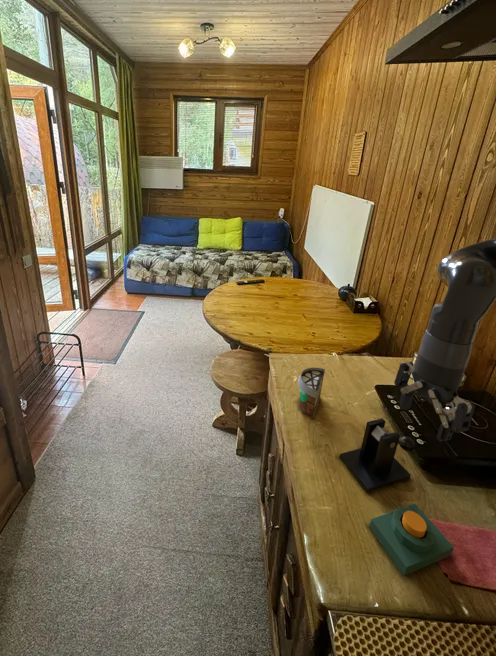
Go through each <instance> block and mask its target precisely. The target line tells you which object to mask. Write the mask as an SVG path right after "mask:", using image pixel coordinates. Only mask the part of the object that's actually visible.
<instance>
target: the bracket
mask: <svg viewBox="0 0 496 656" xmlns="http://www.w3.org/2000/svg"><path fill="white" fill-rule="evenodd" d="M386 422H387V421H386V420H385V419H384V418H383V417H382V418H377V419H374V420H370V421H367V422H366V425H365V429H364V433H363V436H362V437H363V438H362V441H361V447H360V448H356V449H353V450H349V451H346V452H342V453H339V457H338V458H339V459H340V460H341V462H342V463H343V464H344V466H345V467H346V468H347V469H348V471H349V472H350V473H351V475H352V476H353V477H354V479H355V480H356V481H357V482H358V484H359V485H360V486H361V487H362V489H363V490H364V491H365V493H366V494H368V493H371V492H374V491H377V490H380V489H383V488H386V487H390V486H393V485H396V484H399V483H402V482H405V481H408V480H411V477H412V474H411V473H410V472H409V471H408V470H407V469H406V468H405V467H404V466H403V464H401V463H400V461H398V460H397V459H396V458H395V457H396V452H397V448H398V445H399V444H398V442H399V438H400V437H401V434H400V433H399V432H397V431H393V432H389V433H390V434H386V435H383V436H381V437H380V441H378V440H377V439H376V438H375V437H374V436H373V435H372V434H371V433H372V432H373V431H374V429H375V428H376V427H377V426H380V427H383V428H385V426H386Z"/></svg>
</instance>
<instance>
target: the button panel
mask: <svg viewBox="0 0 496 656" xmlns="http://www.w3.org/2000/svg"><path fill="white" fill-rule="evenodd" d="M406 511H413V512H415V513H417V514H418V515H420V516H421V517H422V518H423V519H424V521H425V523H426V525H427V529H426V532H425V535H424V537H422V538H415V537H413V536H412V535H410V534H409V533H408V532H407V531H406V530H405V529H404V527H403V525H402V519H403V515H404V513H405V512H406ZM368 527H369V528H370V530H371V532H372V533H373V534H374V536H375V537H376V539H377V540H378V541H379V543H380V545H381V546H382V547H383V548H384V550H385V551H386V552H387V554H388V556H389V557H390V558H391V560H392V561H393V562H394V563H395V565H396V567H397V568H398V570H399V571H400V573H402V575H403V576H406V575H409V574H411V573H413V572H416V571H418V570H421V569H423V568H425V567H427V566H430V565H432V564H434V563H437V562H440V561H441V560H443V559H446V558H448V557H451V556H452V554H453V552H454V549H455V546H454V545H453V544H452V543H451V542H450V540H448V538H447V537H446V536H445V535H444V534H443V532H442V531H441V530H440V529H439V528H438V527H437V526H436V525H435V523H434V522H432V521H431V519H429V517H428V516H427V515H426V514H425V512H423V510H421V508H420V507H419V506H418V505H417V504H416V503H412V504H409V505H407V506H404V507H403V506H401V507H399V508H396V509H394V510H392V511H390V512H387V513H385V514H382V515H378V516H376V517H373V518H370V522H369V526H368Z"/></svg>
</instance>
